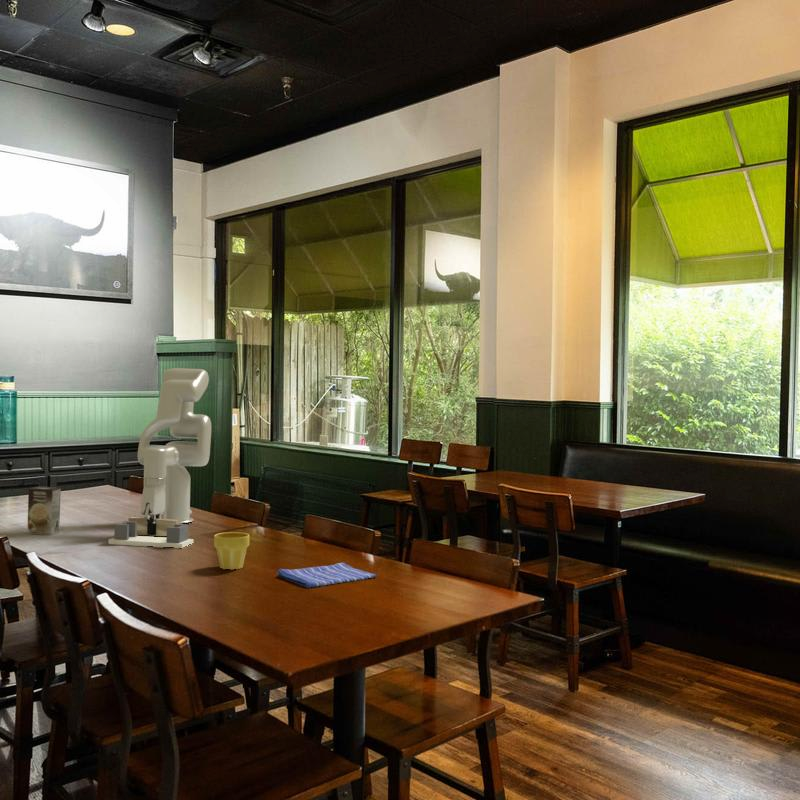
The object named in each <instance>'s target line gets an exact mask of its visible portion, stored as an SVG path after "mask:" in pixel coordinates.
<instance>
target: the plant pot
mask: <svg viewBox="0 0 800 800" xmlns="http://www.w3.org/2000/svg"><path fill="white" fill-rule="evenodd" d="M250 542H251V541H250V534H249V533H246V532H238V531H237V532H236V531H235V532H233V531H229V532H219V533H216V534H214V535H213V546H214V548H216V553H217V560H218V564H219V568H220V569H221V568H222V570H225V569H230V570H229V571H233V570H234V569H236V570H241V569H242V568H243V567H244V562H245V558H246V554H247V549H248V547H249V546H250ZM234 571H235V570H234Z"/></svg>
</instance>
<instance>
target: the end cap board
mask: <svg viewBox="0 0 800 800" xmlns="http://www.w3.org/2000/svg"><path fill="white" fill-rule="evenodd" d="M192 543H193V544H194V539H193V538H189V524H175V525H174V527H167V537H154V536H138V535H137V522H131V521H128V520H127V521H126V520H124V521H121V522H117V523H115V524H114V537H112V538H108V545H117V546H118V545H119V546H134V547H147V546H153V547H152V548H163V547H174V548H173V549H179V548H183V547H185V546H187V547H189V546H190V545H189V544H191V545H193V544H192ZM188 545H189V546H188ZM185 548H186V547H185ZM183 549H184V548H183Z"/></svg>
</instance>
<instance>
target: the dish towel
mask: <svg viewBox="0 0 800 800" xmlns="http://www.w3.org/2000/svg"><path fill="white" fill-rule="evenodd" d="M276 573H277V576H278V577H279V578H281V577H282V578H281V579H283V578H284V580H286V581H288V582H291V583H293V582H294V584H296V585H298V584H299V586H301V587H303V586H304V587H303V588H305V587H306V588H305V589H311V587H312V588H319V587H318V586H320V587H326V586H325V585H328V586H331V585H330V584H334V585H338V584H337V583H341V584H344V583H343V582H347V583H351V582H350V581H354V582H358V581H357V580H360V581H365V580H364V579H366V580H369V579H368V578H371V579H375V578H376V577H377V574H376V573H371V572H368V571H365V570H362V569H359V568H354V567H352V566H351V565H349V564H346V562H339V563H335V564H329V565H321V566H312V567H305V568H297V569H296V568H295V569H288V568H286V569H285V568H279V570H278V571H276ZM374 577H375V578H374Z"/></svg>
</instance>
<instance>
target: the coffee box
mask: <svg viewBox="0 0 800 800" xmlns="http://www.w3.org/2000/svg"><path fill="white" fill-rule="evenodd" d="M61 491H62V488H61V487H54V486H40V485H38V486H35V487H30V488H28V497H27V498H28V499H27V500H28V502H27V526H26V527H27V529H26V534H29V535H30V534H31V535H45V536H47V535H48V536H52V535H54V534H57V533H60V523H61V493H62V492H61Z"/></svg>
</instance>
